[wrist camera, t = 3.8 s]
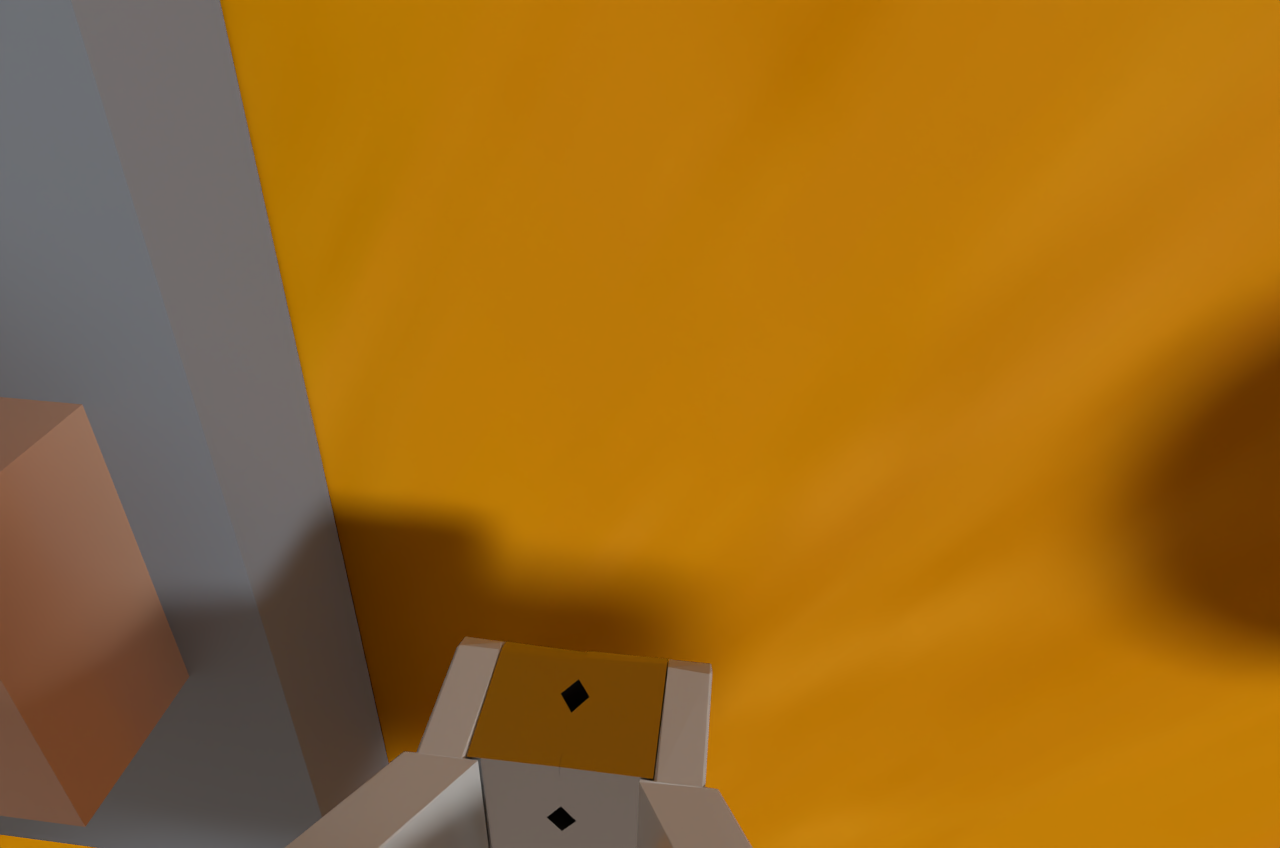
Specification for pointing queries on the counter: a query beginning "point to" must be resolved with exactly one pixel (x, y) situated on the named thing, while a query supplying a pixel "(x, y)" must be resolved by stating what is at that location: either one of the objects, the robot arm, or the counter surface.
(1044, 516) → the counter surface
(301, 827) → the grey flat slab
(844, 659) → the counter surface
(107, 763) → the terracotta tile
